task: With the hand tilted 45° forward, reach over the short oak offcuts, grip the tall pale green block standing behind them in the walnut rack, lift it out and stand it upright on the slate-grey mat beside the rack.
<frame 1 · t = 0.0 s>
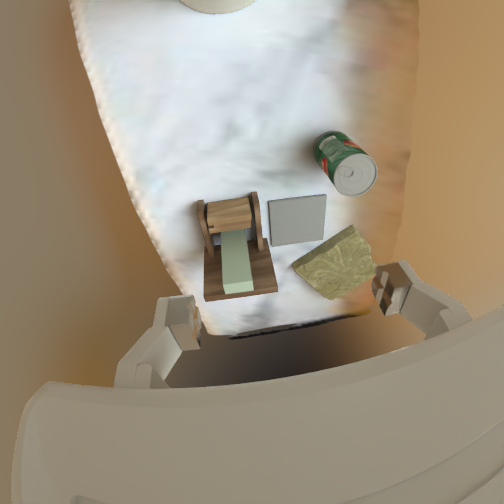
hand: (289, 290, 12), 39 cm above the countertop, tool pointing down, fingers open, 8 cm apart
pale green block: (233, 229, 58), resting in walnut rack
walnut rack: (231, 222, 57), on the countertop
grey mat: (297, 220, 58), on the countertop
offcut stack: (229, 208, 54), on the countertop
decorative tile: (339, 261, 70), on the countertop
canned tomato: (332, 149, 48), on the countertop
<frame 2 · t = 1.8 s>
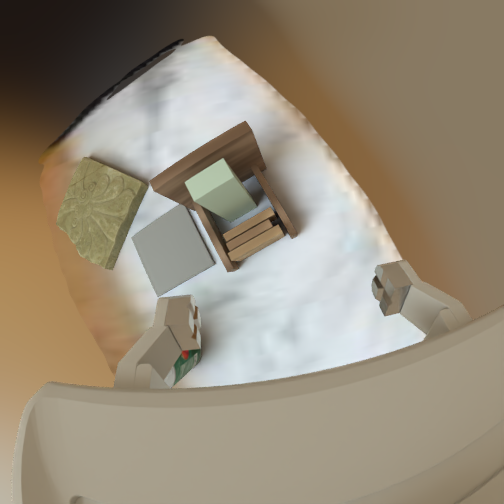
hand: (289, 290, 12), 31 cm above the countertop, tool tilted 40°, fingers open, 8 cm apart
pale green block: (240, 208, 44), resting in walnut rack
walnut rack: (245, 218, 44), on the countertop
grey mat: (170, 250, 46), on the countertop
offcut stack: (256, 237, 43), on the countertop
decorative tile: (99, 211, 50), on the countertop
canned tomato: (181, 348, 45), on the countertop
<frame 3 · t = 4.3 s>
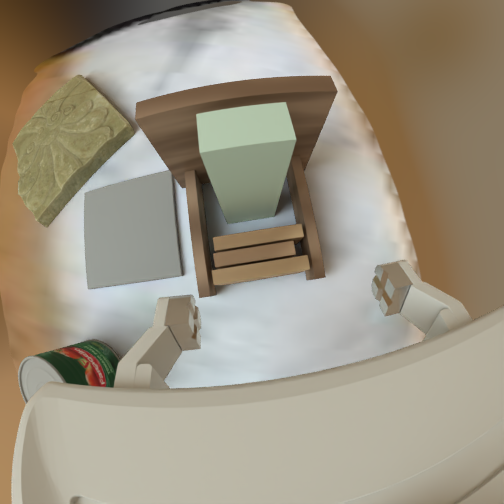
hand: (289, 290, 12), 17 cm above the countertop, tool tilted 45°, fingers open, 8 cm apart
pale green block: (248, 208, 29), resting in walnut rack
walnut rack: (251, 226, 29), on the countertop
grey mat: (127, 230, 29), on the countertop
offcut stack: (257, 259, 28), on the countertop
decorative tile: (64, 146, 31), on the countertop
canned tomato: (99, 370, 27), on the countertop
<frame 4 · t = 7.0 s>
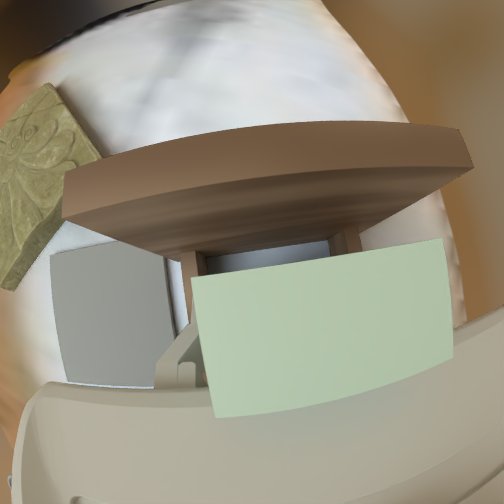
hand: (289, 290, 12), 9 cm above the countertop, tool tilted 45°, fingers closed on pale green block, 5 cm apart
pale green block: (275, 297, 20), resting in walnut rack, touching gripper
walnut rack: (279, 323, 20), on the countertop
grey mat: (107, 316, 20), on the countertop
decorative tile: (28, 180, 23), on the countertop
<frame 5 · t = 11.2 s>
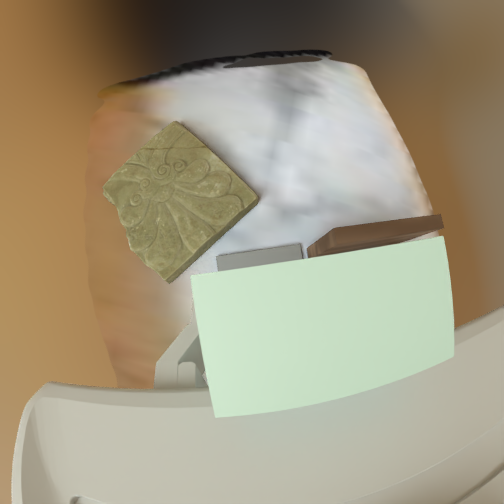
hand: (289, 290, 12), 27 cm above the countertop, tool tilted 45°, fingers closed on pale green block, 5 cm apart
pale green block: (275, 296, 20), point 18 cm above the countertop, touching gripper
walnut rack: (358, 289, 38), on the countertop
grey mat: (264, 292, 38), on the countertop
decorative tile: (172, 199, 41), on the countertop
when the fingers open (11 cm above the countertop, at t = 15.5 s): pale green block drops 1 cm, resting on grey mat.
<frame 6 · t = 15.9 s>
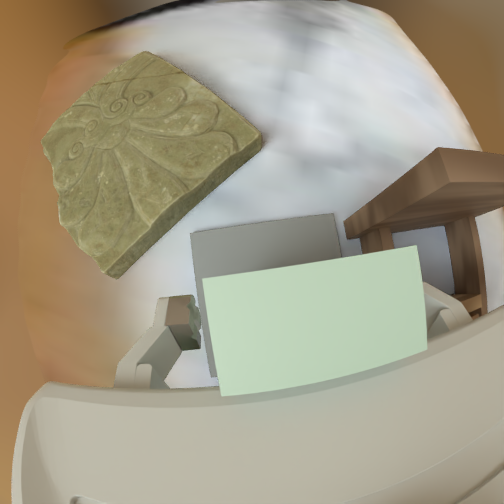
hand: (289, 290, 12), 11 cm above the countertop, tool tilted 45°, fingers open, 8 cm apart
pale green block: (273, 296, 21), point 1 cm above the countertop, touching grey mat
walnut rack: (420, 289, 22), on the countertop
grey mat: (273, 296, 22), on the countertop
offcut stack: (424, 325, 21), on the countertop
decorative tile: (130, 151, 25), on the countertop
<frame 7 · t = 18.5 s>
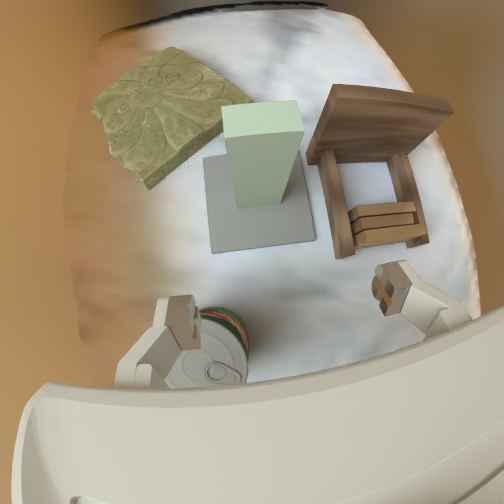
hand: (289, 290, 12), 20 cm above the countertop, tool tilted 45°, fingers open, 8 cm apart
pale green block: (257, 196, 32), point 1 cm above the countertop, touching grey mat
walnut rack: (367, 202, 32), on the countertop
grey mat: (257, 197, 32), on the countertop
offcut stack: (373, 229, 32), on the countertop
decorative tile: (161, 112, 35), on the countertop
canned tomato: (215, 340, 30), on the countertop
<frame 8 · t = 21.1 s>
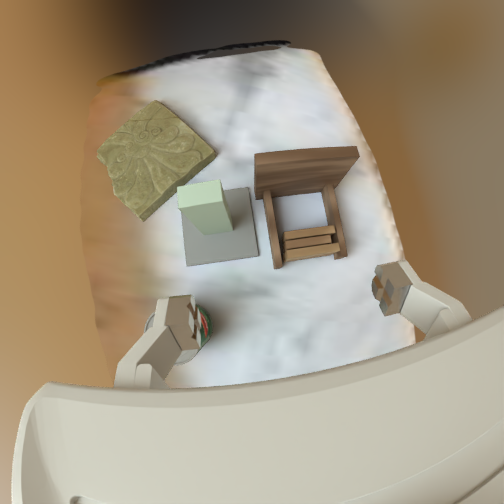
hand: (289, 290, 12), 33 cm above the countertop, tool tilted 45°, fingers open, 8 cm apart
pale green block: (217, 225, 45), point 1 cm above the countertop, touching grey mat
walnut rack: (301, 226, 46), on the countertop
grey mat: (217, 226, 46), on the countertop
offcut stack: (305, 246, 45), on the countertop
decorative tile: (150, 159, 49), on the countertop
canned tomato: (190, 325, 44), on the countertop
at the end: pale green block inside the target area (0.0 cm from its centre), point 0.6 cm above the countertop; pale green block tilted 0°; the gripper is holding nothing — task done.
